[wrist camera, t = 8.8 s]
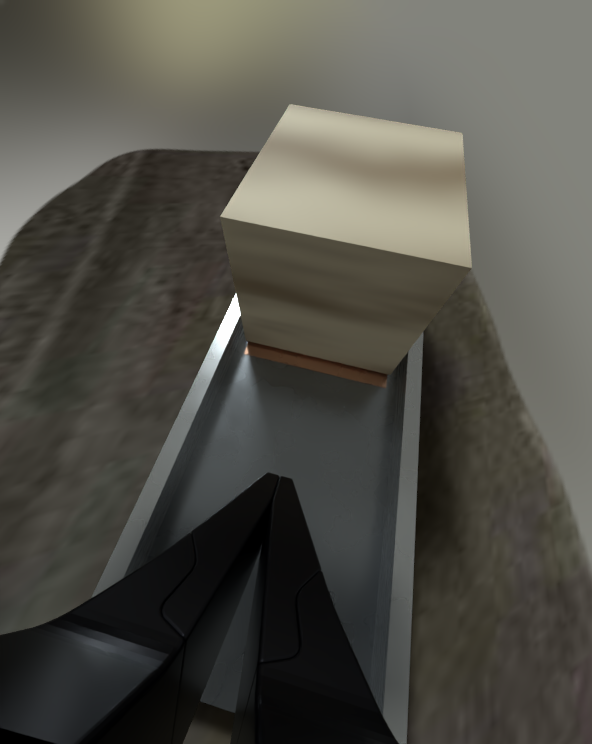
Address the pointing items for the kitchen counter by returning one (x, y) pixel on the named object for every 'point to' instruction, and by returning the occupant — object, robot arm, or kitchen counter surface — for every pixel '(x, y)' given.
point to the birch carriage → (348, 236)
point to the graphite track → (299, 491)
